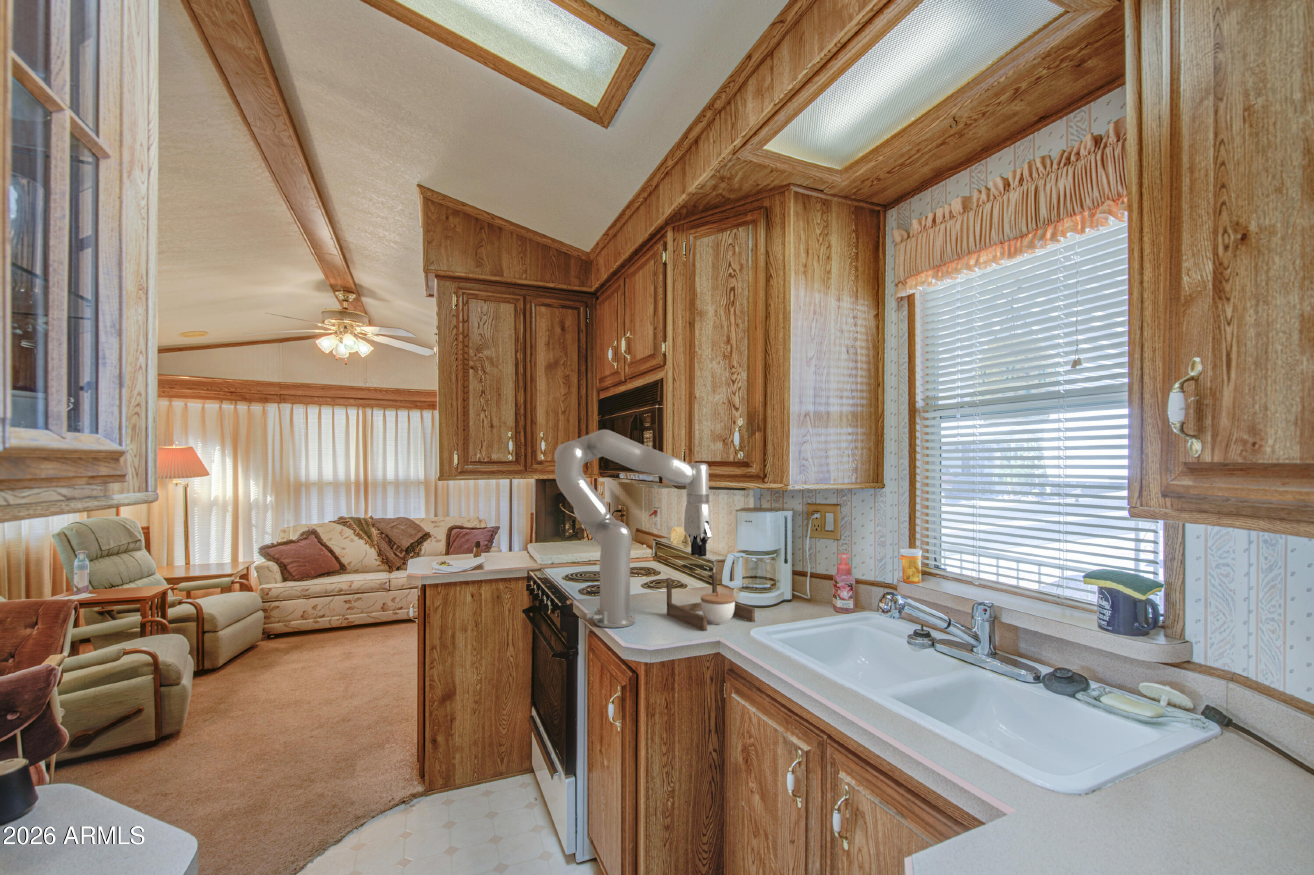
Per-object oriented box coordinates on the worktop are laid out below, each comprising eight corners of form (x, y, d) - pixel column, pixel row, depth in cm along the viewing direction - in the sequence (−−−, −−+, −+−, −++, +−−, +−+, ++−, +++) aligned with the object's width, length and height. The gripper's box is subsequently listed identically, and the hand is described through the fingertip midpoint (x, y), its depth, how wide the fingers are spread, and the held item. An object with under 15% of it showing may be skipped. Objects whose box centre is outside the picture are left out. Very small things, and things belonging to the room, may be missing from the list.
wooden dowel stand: (703, 631, 164) (702, 589, 165) (666, 615, 182) (666, 578, 183) (755, 621, 173) (754, 582, 174) (715, 607, 192) (714, 572, 193)
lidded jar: (724, 628, 166) (724, 596, 167) (694, 622, 173) (694, 592, 173) (741, 620, 175) (741, 590, 175) (712, 615, 181) (712, 586, 182)
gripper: (675, 499, 190) (676, 553, 189) (702, 501, 176) (703, 560, 175) (693, 498, 194) (694, 551, 193) (721, 500, 180) (722, 558, 179)
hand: (698, 555), depth 184 cm, fingers open, 3 cm apart
